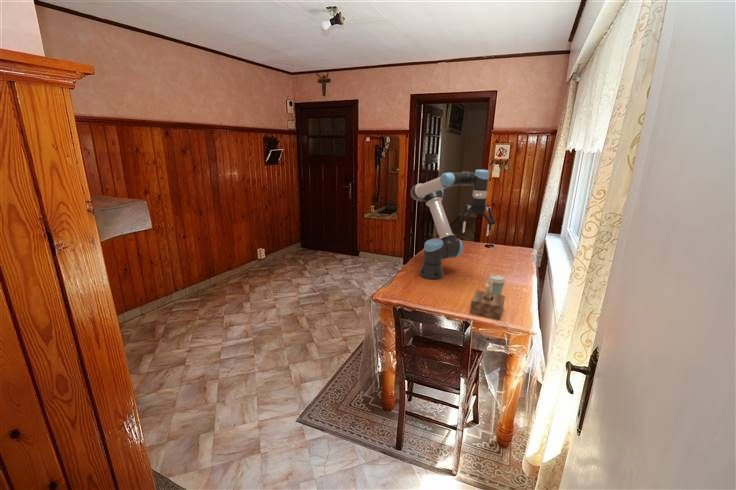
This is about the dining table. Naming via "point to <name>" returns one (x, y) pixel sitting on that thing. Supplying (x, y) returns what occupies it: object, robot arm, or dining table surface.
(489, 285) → the dowel
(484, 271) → the dining table surface
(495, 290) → the coffee cup
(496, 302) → the bore block
